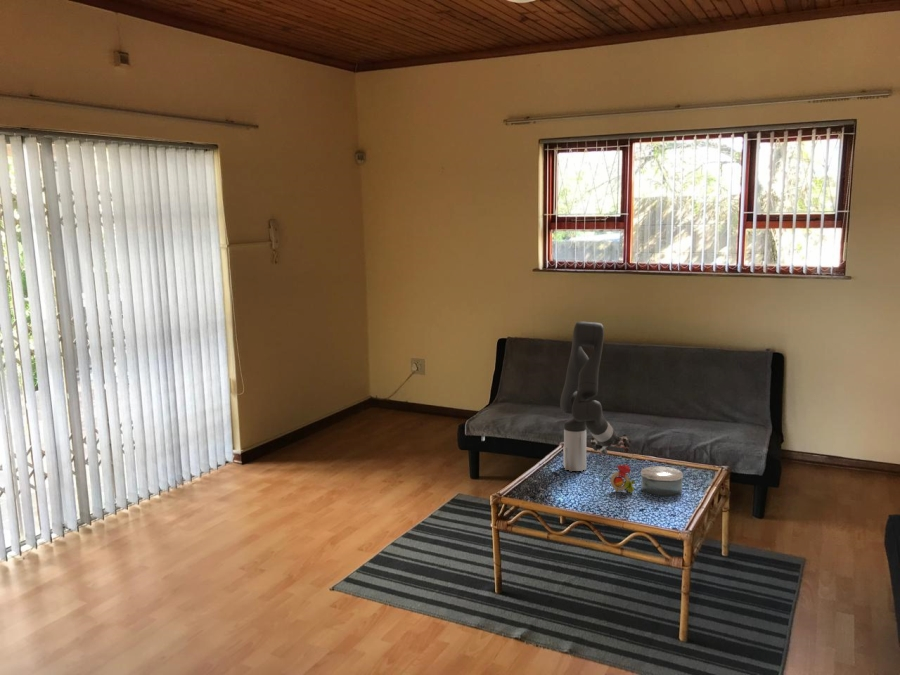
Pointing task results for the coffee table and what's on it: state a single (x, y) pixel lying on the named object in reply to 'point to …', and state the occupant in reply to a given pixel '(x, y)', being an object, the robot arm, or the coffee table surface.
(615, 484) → the bird rattle
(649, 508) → the coffee table surface
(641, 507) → the coffee table surface
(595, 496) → the coffee table surface
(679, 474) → the biscuit tin
